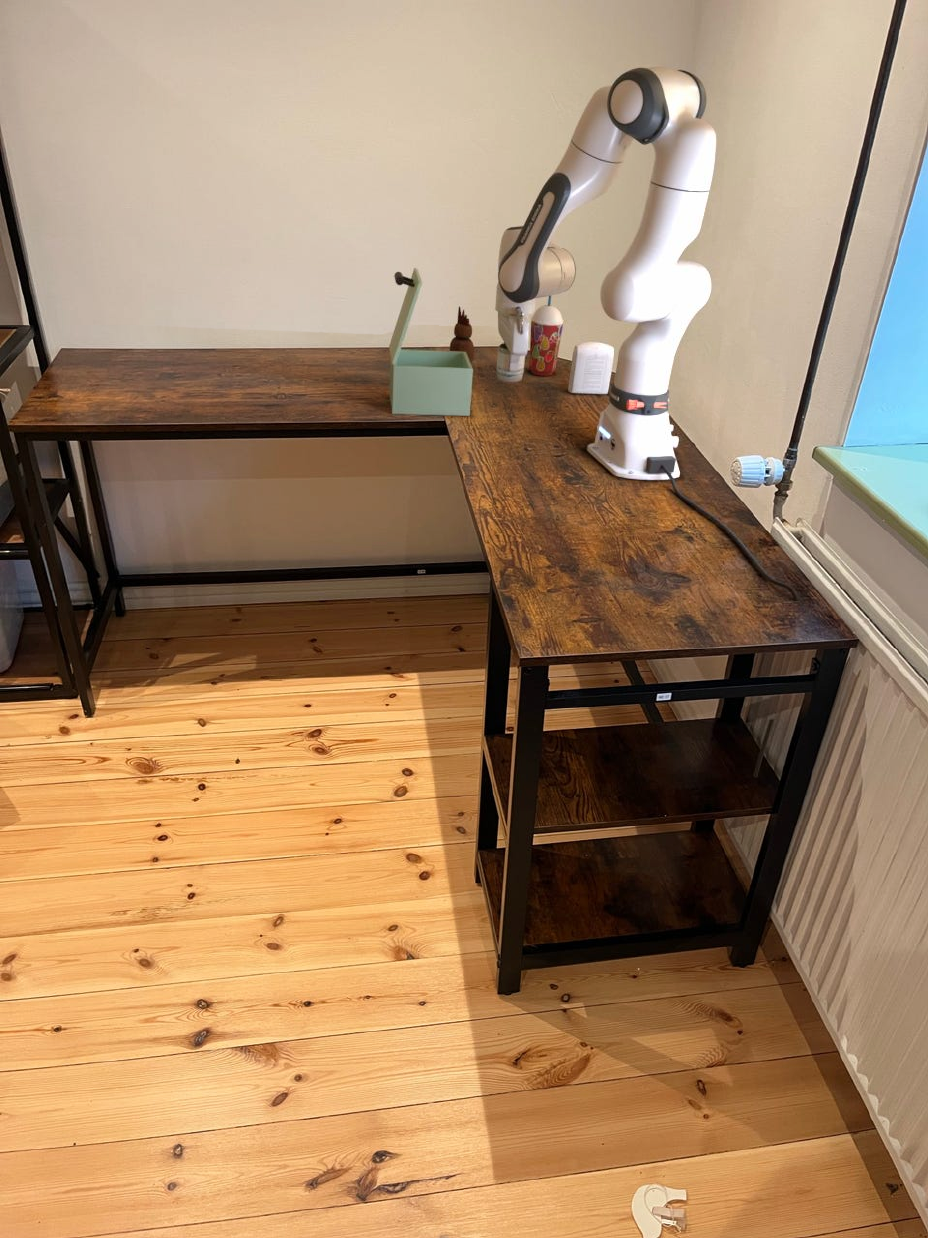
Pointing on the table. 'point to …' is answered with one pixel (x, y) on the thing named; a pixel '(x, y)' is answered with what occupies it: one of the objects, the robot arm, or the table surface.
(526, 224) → the robot arm
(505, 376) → the camera lens
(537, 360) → the smoothie
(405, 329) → the lid
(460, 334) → the wooden figurine
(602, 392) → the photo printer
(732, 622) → the table surface
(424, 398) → the storage box
